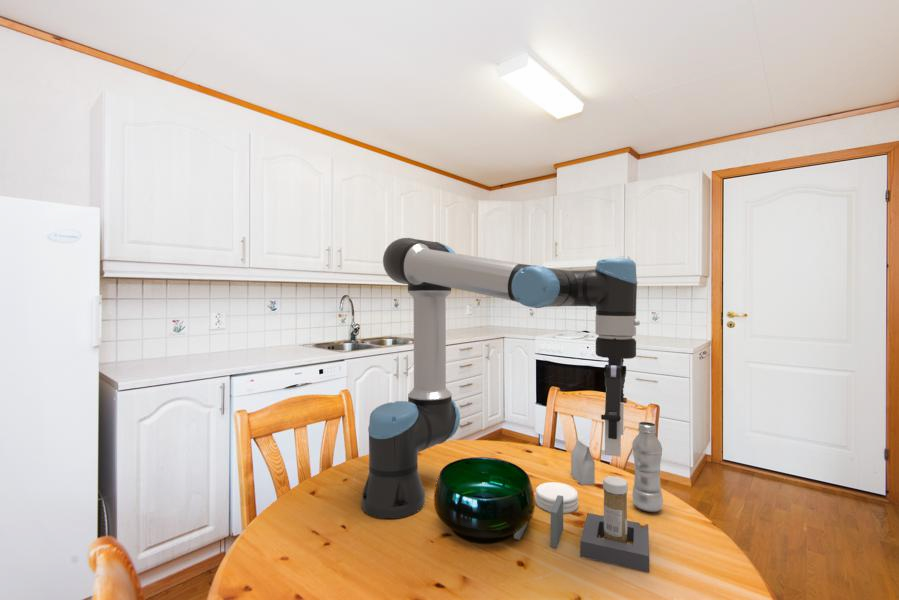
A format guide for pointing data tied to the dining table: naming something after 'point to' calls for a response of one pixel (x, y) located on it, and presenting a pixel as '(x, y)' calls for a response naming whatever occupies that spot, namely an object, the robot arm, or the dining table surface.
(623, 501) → the sprinkles bottle
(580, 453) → the grey gabled carton
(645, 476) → the plastic bottle
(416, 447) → the robot arm
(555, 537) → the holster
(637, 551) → the port block
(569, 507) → the white round stack
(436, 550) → the dining table surface
